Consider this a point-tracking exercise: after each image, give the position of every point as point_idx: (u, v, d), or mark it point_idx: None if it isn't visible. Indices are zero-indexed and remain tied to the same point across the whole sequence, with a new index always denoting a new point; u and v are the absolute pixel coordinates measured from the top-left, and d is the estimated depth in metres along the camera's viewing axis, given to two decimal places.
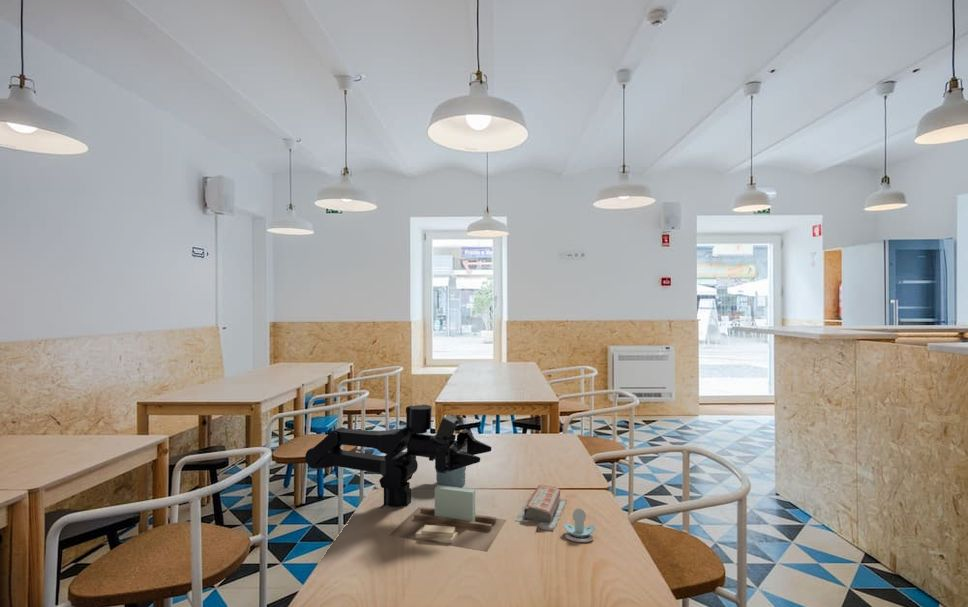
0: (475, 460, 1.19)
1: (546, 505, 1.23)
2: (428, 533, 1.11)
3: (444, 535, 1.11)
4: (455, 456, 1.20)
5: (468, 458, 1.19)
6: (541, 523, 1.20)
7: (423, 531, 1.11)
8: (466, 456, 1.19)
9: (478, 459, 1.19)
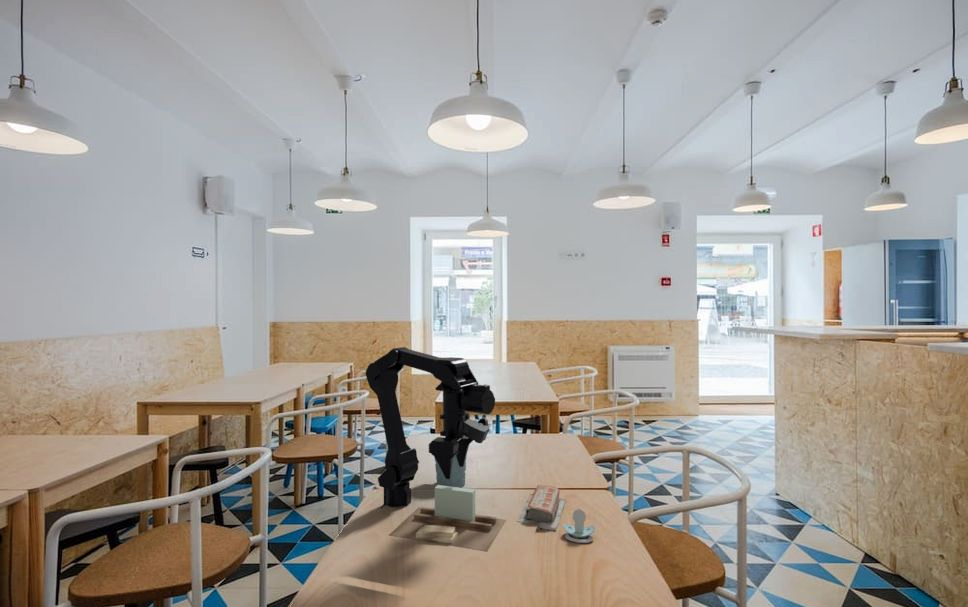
0: (446, 475, 1.16)
1: (547, 505, 1.23)
2: (428, 533, 1.11)
3: (444, 535, 1.11)
4: None
5: (447, 469, 1.15)
6: (543, 523, 1.20)
7: (423, 531, 1.11)
8: (448, 467, 1.15)
9: (448, 478, 1.16)
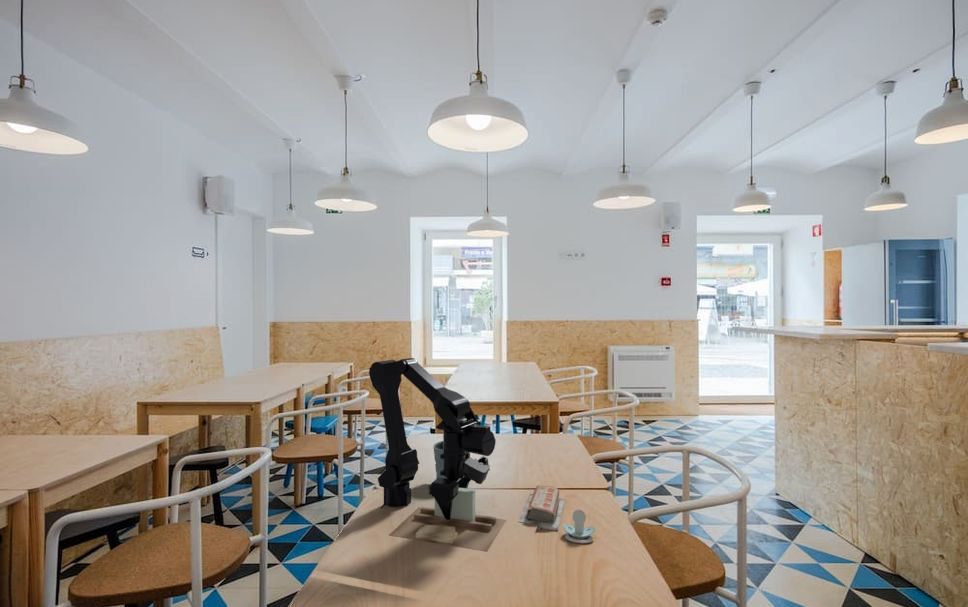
0: (446, 515, 1.16)
1: (548, 505, 1.23)
2: (428, 533, 1.11)
3: (444, 535, 1.11)
4: None
5: (447, 510, 1.15)
6: (545, 523, 1.20)
7: (423, 531, 1.11)
8: (448, 508, 1.15)
9: (447, 518, 1.16)
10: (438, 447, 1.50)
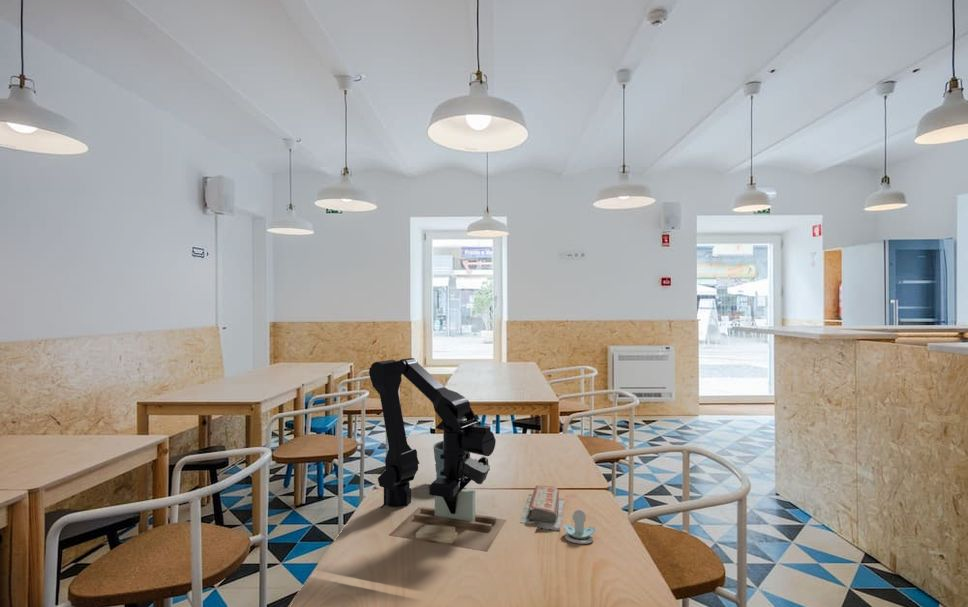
0: (451, 510, 1.19)
1: (549, 505, 1.23)
2: (428, 533, 1.11)
3: (444, 535, 1.11)
4: None
5: (452, 504, 1.19)
6: (546, 524, 1.20)
7: (423, 531, 1.11)
8: (454, 502, 1.18)
9: (453, 512, 1.19)
10: (438, 447, 1.50)
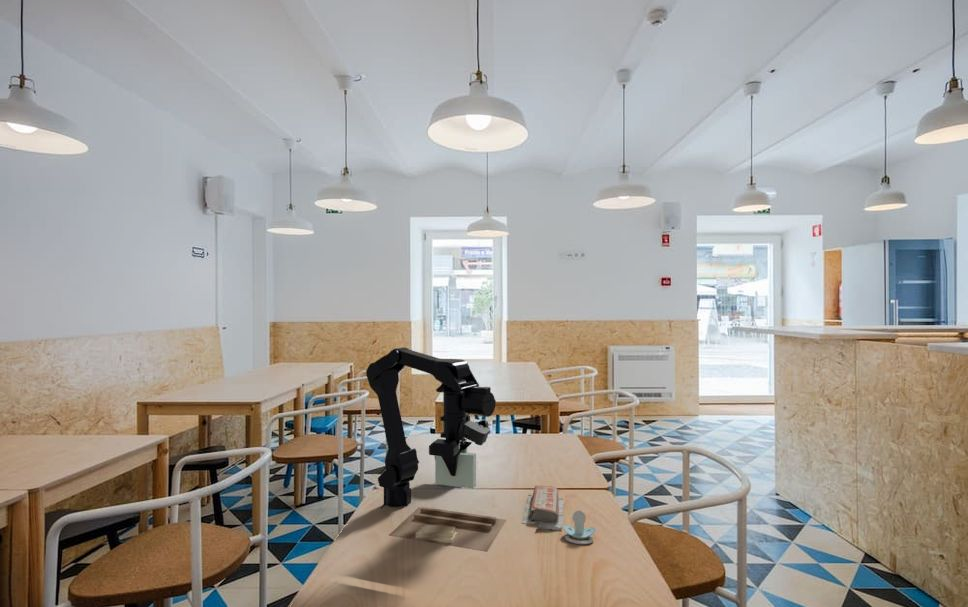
0: (451, 472, 1.19)
1: (550, 506, 1.23)
2: (428, 533, 1.11)
3: (444, 535, 1.11)
4: None
5: (452, 466, 1.19)
6: (548, 524, 1.19)
7: (423, 531, 1.11)
8: (454, 464, 1.18)
9: (453, 475, 1.19)
10: None
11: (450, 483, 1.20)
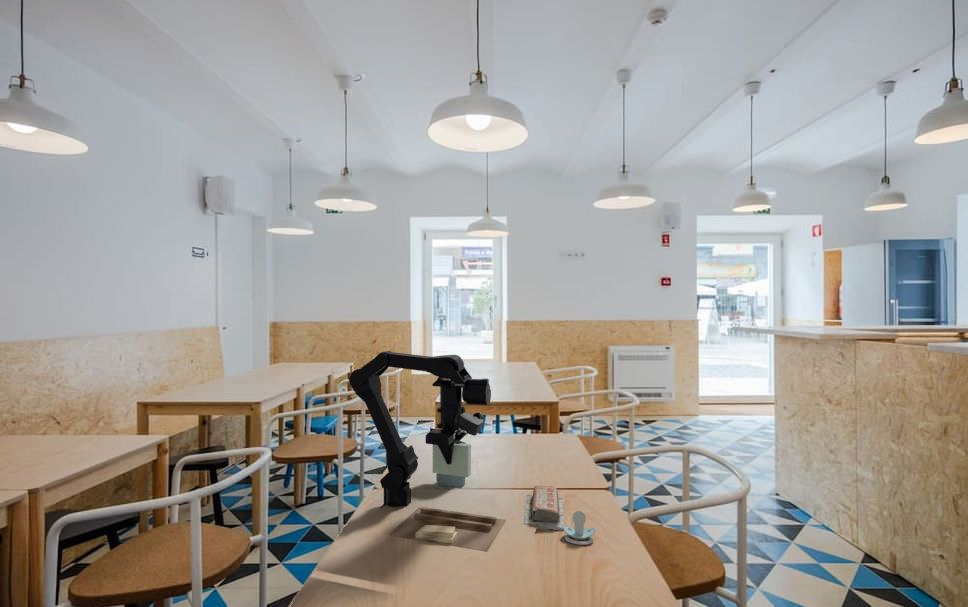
0: (447, 460, 1.27)
1: (552, 506, 1.23)
2: (428, 533, 1.11)
3: (444, 535, 1.11)
4: None
5: (448, 455, 1.26)
6: (550, 524, 1.19)
7: (423, 531, 1.11)
8: (449, 453, 1.26)
9: (448, 463, 1.27)
10: None
11: (446, 472, 1.27)
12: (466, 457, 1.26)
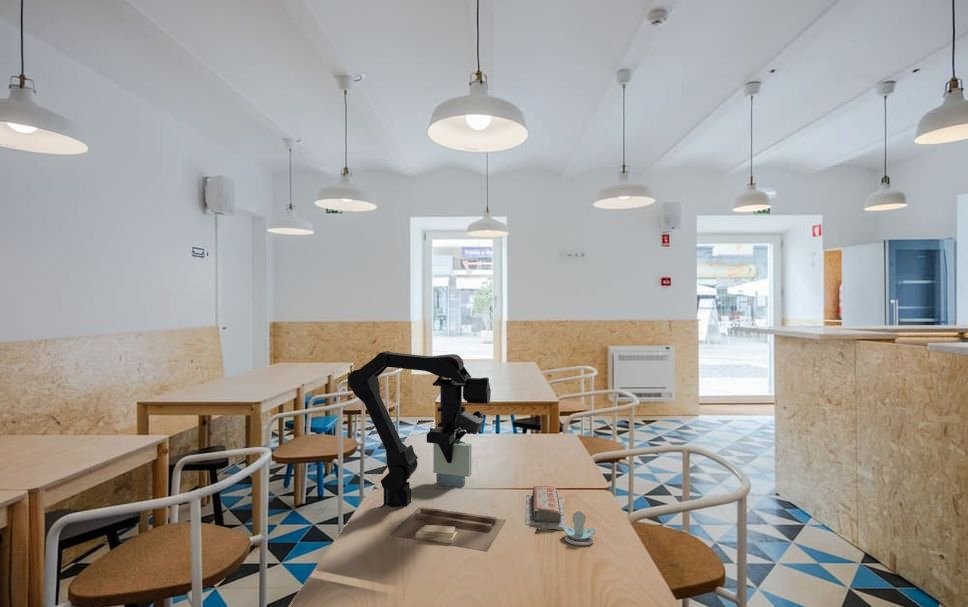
0: (448, 459, 1.28)
1: (553, 506, 1.23)
2: (428, 533, 1.11)
3: (444, 535, 1.11)
4: None
5: (448, 454, 1.27)
6: (552, 524, 1.19)
7: (423, 531, 1.11)
8: (450, 452, 1.27)
9: (449, 462, 1.28)
10: None
11: (447, 472, 1.28)
12: (467, 457, 1.26)
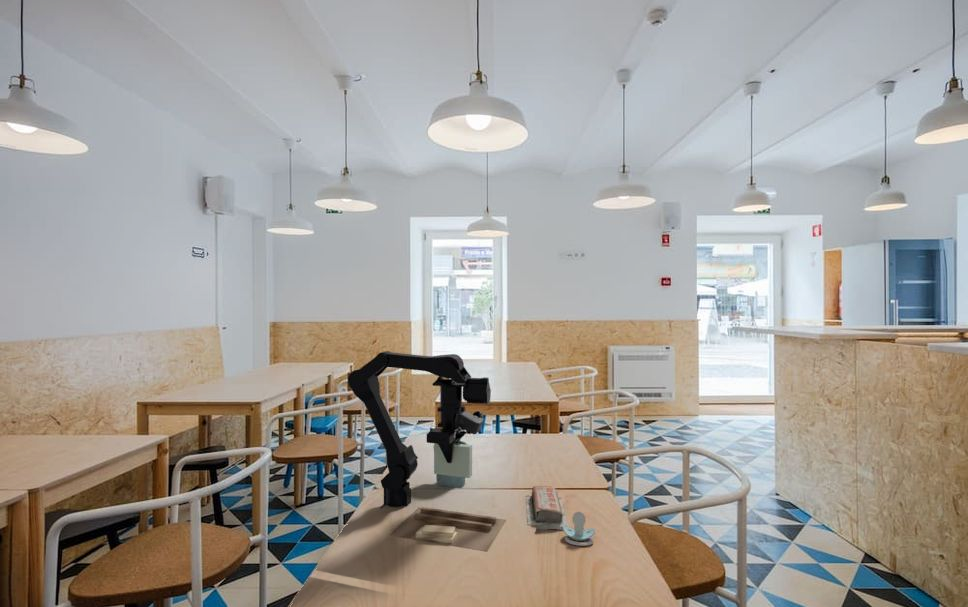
0: (448, 459, 1.28)
1: (554, 505, 1.23)
2: (428, 533, 1.11)
3: (444, 535, 1.11)
4: None
5: (448, 454, 1.27)
6: (554, 524, 1.19)
7: (423, 531, 1.11)
8: (450, 452, 1.27)
9: (449, 462, 1.28)
10: None
11: (448, 473, 1.28)
12: (468, 458, 1.26)
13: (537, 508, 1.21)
